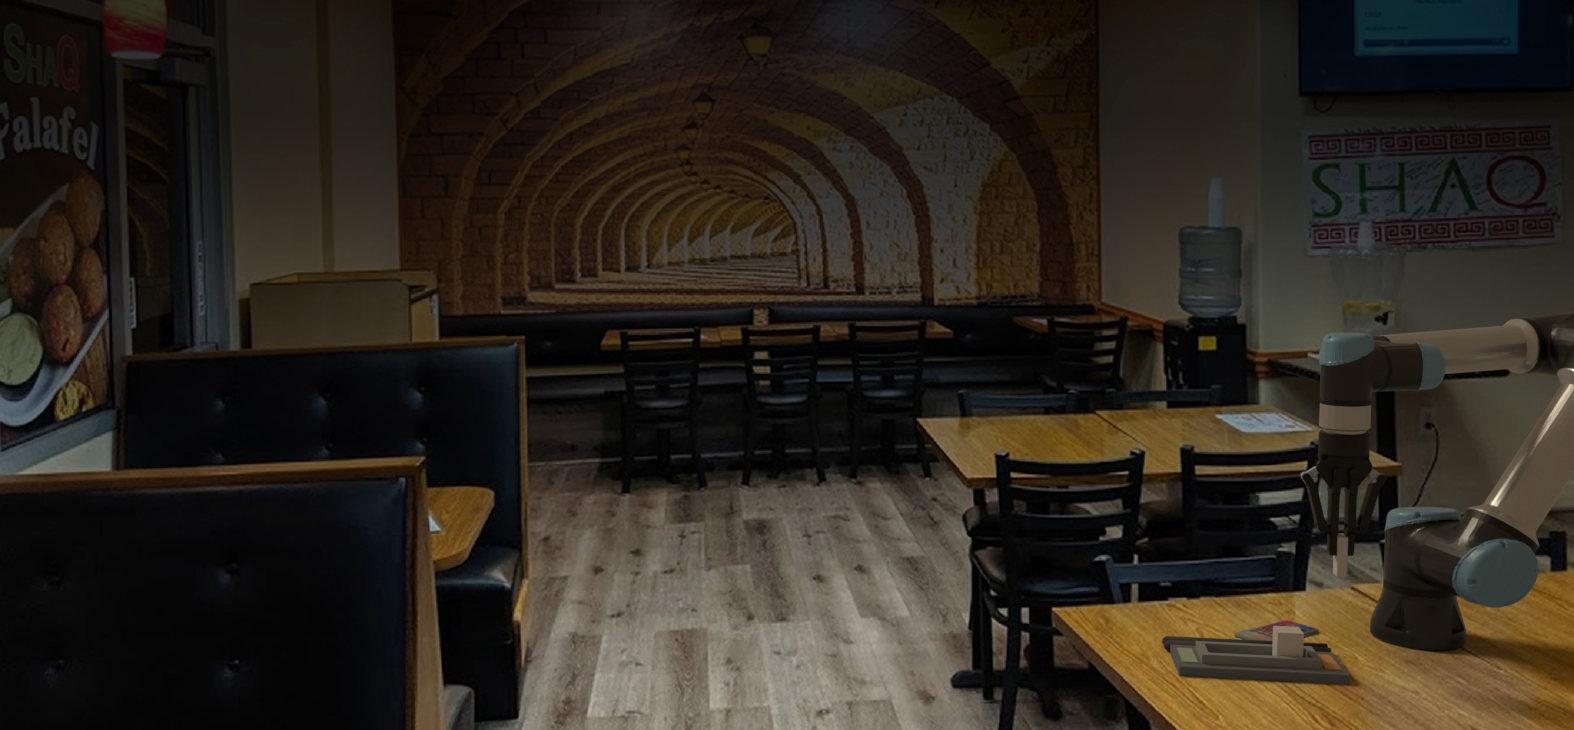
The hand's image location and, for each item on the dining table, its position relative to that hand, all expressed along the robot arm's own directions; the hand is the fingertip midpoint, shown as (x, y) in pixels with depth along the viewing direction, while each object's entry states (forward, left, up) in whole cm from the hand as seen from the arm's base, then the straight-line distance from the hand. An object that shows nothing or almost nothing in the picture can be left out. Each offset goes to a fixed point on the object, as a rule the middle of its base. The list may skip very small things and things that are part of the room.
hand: (1339, 574), depth 205 cm
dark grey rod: (+12, -9, -16) cm, 22 cm away
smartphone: (+5, -19, -17) cm, 26 cm away
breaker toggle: (+8, 0, -14) cm, 16 cm away
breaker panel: (+12, 0, -16) cm, 20 cm away
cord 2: (+12, -7, -16) cm, 21 cm away
